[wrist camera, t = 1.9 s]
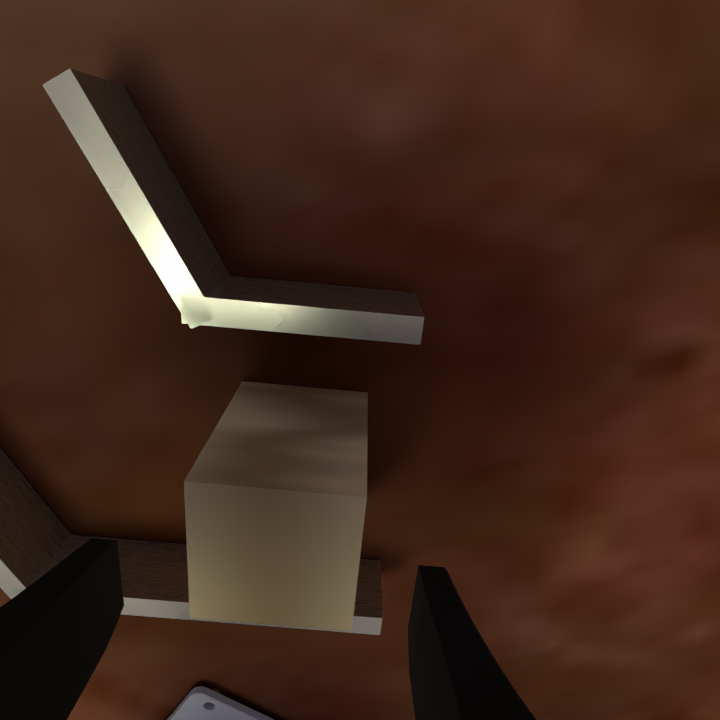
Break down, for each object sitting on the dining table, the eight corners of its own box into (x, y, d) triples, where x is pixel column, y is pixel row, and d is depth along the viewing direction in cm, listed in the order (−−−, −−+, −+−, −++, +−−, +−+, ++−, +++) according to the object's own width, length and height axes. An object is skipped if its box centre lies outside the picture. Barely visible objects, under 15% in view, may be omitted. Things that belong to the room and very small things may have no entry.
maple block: (367, 392, 18) (366, 497, 12) (356, 496, 19) (351, 631, 14) (242, 380, 18) (184, 481, 12) (241, 486, 19) (189, 618, 14)
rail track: (551, 389, 18) (583, 428, 15) (293, 667, 23) (283, 733, 20) (-82, -61, 13) (-192, -115, 11) (-226, 407, 18) (-324, 447, 16)
